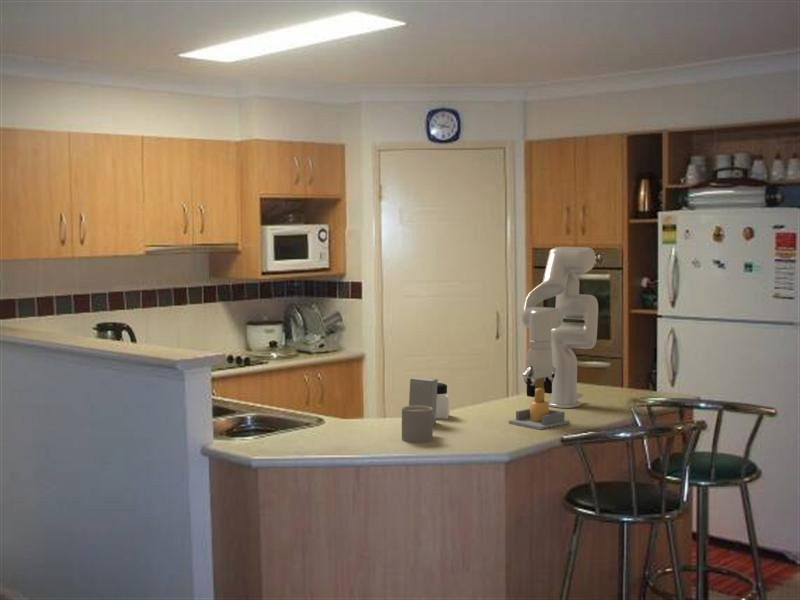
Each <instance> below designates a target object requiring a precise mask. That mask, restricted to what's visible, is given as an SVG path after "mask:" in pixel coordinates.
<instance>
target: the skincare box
mask: <svg viewBox="0 0 800 600" xmlns="http://www.w3.org/2000/svg"><path fill="white" fill-rule="evenodd" d="M409 379H410V380H409V394H408V395H409V399H408V400H409V401H408V406H416V405H418V406H428V407H432V408H433V412H434V415H435V423H436V402H437V384H438V383H439V381H438V378H430V377H424V376H423V377H422V376H421V377H420V376H415V377H411V378H409Z"/></svg>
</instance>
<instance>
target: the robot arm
mask: <svg viewBox="0 0 800 600" xmlns="http://www.w3.org/2000/svg"><path fill="white" fill-rule="evenodd" d="M595 263H596V253H595V251H594V249H593V248H591V247H587V246H585V247H584V246H559V247H557V246H556V247H553V248H551V249H550V250H549V252H548V256H547V262H546V265H545V270H544V273H543V276H542V277H543V278H542V282H541V283H540V284H538V285H537V286H535V287H534V288H533V289H532V290H531V291H530V292H529V293H528V294H527V296H526V297H525V300H524V303H523V309H522V312H521V323H522V324H523V326H524V327H526V328H528V329H529V332H528V333H529V334H528V335H529V336H528V337H529V338H528V340H529V341H528V350H527V352H526V358H525V369H524V370H525V371H524V372H523V373H522V377H523V380H524V382H525V385H526V397H530V398H535V389H536V385H535V383H536V381H537V380H542V379H544V381H543V389H545V393H544V394H549V395H551V396H550V399H549V400H547V401H548V402H549V407H553V408H561V409H574V408H578V407H580V406H581V404H582V403H581V402H580V401H579V400H578V399H581V398H583V397H584V394H583V393H582V392H577V391H578V390H577V389H578V387H577V386H578V385H577V384H578V383H577V382H578V381H577V380H578V359H577V356H576V354H575V353H574V351H573V350H572V349H583V350H584V349H585V350H587V349H593V348H594V347H595V345H596V344H597V336H598V324H599V323H598V321H599V302H598V299H597V297H596V296H594V295H593V294H581V293H580V279H579V277H578V276H577V275H580V274H581V275H582V274H583V275H584V274H586V273H588V272H589V271H591V270H592V269H593V268H594V266H595ZM576 274H577V275H576ZM553 297H555V306H554V307H546V306H538V304H539V303H541V302H542V301H545V300H548V299H551V298H553ZM564 319H565V320H583V321H584V322H571V321H570V322H566V321H564Z"/></svg>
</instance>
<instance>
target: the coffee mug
mask: <svg viewBox="0 0 800 600" xmlns="http://www.w3.org/2000/svg"><path fill="white" fill-rule="evenodd" d="M435 424H436V422H435V415H434V412H433V408H432V407H428V406H418V405H416V406H409V405H406V406H403V407H401V440H402V441H404V442H408V443H426V442H431V441H432V440H433V437H434V436H433V435H434V434H433V427H434V425H435Z"/></svg>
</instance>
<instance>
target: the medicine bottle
mask: <svg viewBox="0 0 800 600" xmlns="http://www.w3.org/2000/svg"><path fill="white" fill-rule="evenodd" d="M449 415H450V396H449V395H448V385H447V384H446V383H444V382H438V384H437V402H436V419H439V420H440V419H443V420H447V419H448V418H449Z"/></svg>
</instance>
